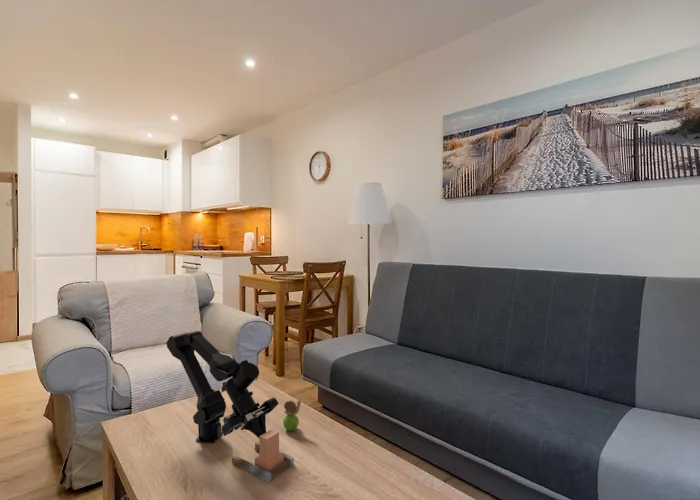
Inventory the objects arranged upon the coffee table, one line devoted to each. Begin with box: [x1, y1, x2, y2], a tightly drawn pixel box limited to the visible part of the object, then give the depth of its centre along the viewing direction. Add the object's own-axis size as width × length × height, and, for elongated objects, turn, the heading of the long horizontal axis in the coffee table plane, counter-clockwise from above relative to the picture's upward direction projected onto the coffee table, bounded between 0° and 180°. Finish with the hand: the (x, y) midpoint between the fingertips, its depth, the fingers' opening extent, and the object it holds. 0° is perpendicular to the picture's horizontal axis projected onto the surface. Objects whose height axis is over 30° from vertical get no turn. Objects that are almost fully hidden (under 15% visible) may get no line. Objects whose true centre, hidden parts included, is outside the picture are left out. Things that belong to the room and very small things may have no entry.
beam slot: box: [231, 441, 295, 483], centre depth 122 cm, size 16×10×2 cm
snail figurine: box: [282, 396, 302, 431], centre depth 142 cm, size 5×6×12 cm
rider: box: [254, 429, 284, 472], centre depth 120 cm, size 6×6×10 cm
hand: (265, 440), depth 121 cm, fingers closed, pressing on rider
